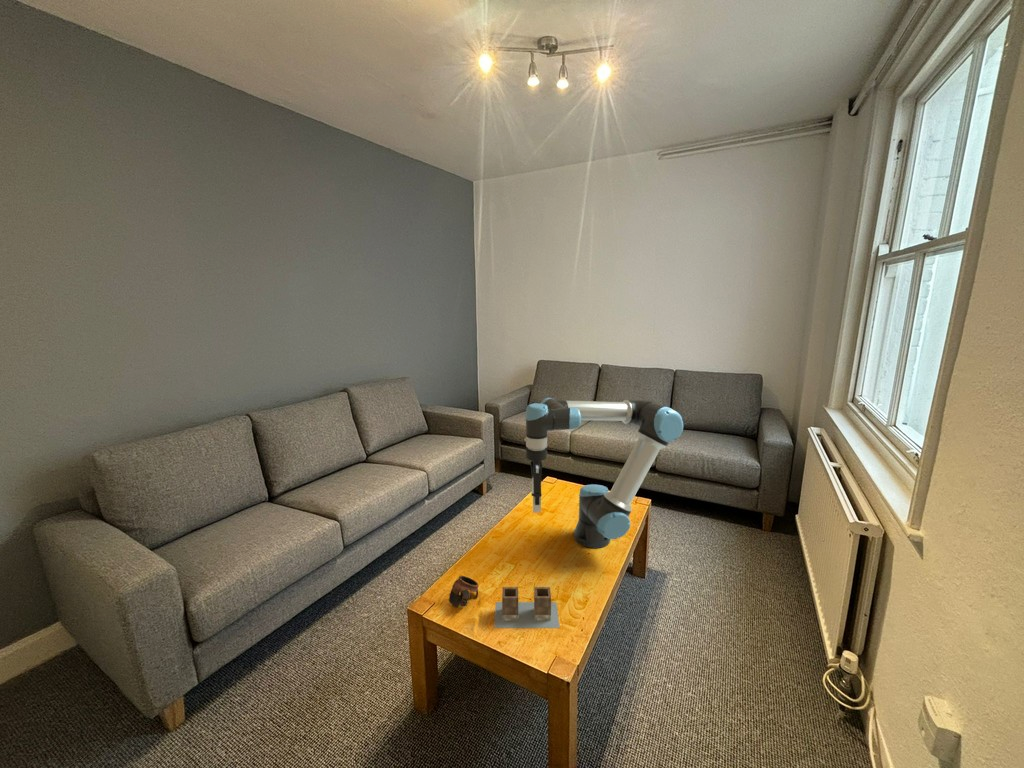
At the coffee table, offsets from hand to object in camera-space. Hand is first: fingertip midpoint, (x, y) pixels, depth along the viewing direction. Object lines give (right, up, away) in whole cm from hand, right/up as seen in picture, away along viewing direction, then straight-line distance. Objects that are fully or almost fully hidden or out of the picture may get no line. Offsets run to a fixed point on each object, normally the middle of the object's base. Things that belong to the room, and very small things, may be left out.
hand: (535, 502), depth 152 cm
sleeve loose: (-9, -30, -19) cm, 37 cm away
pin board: (-4, -31, -19) cm, 37 cm away
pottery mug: (-25, -30, -11) cm, 41 cm away
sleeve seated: (+1, -30, -19) cm, 36 cm away
